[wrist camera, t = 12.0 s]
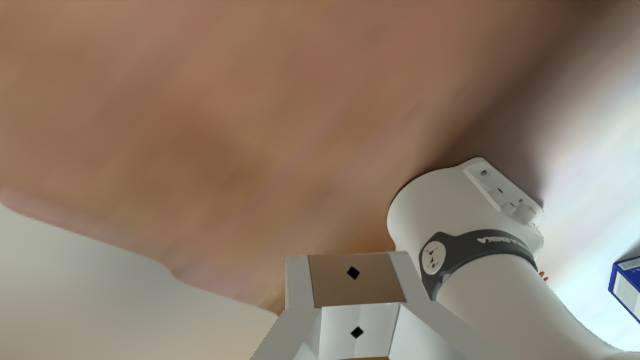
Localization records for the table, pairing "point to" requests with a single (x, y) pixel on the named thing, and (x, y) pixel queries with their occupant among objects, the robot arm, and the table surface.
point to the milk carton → (627, 285)
